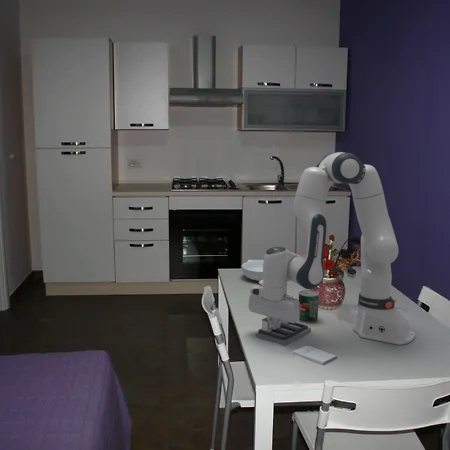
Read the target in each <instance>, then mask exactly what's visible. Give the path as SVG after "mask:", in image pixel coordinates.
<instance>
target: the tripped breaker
mask: <svg viewBox="0 0 450 450" xmlns="http://www.w3.org/2000/svg"><path fill="white" fill-rule="evenodd" d="M269 325H270V324H269V322H268V320H267V316H265V317H263V318H262V319H261V329H262V330H263V331H266V332H271V331H272V329H271V328H269Z"/></svg>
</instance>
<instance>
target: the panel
mask: <svg viewBox="0 0 450 450" xmlns="http://www.w3.org/2000/svg"><path fill="white" fill-rule="evenodd" d="M311 332H312V328H311V327H309V326H308V325H307V324H302V323H299V322H295V323H290V322H288V324H283V323H281V327H280V328H276V329H275V330H274V329H272V331H271V332H266V331H263V330H262V328H260V329H258V331H256V332H254V337H255V338H258V339H261V340H264V341H268V342H271V343H274V344H277V345H281V346H284V347H285V346H288V345H289V344H291V343H293V342H295V341H298V339H300V338H303V337H304V336H306V335H308V334H309V333H311Z"/></svg>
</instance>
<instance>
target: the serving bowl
mask: <svg viewBox="0 0 450 450" xmlns="http://www.w3.org/2000/svg"><path fill="white" fill-rule="evenodd" d="M263 262H264V260H251V261H246V262H244V263H242V265H241V271H242V273H243V275H244V276H245V277H246V278H247V279H250V280H252V281H257V282H259V281H260V280H263V279H264V275H263Z"/></svg>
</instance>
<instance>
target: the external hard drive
mask: <svg viewBox="0 0 450 450" xmlns="http://www.w3.org/2000/svg"><path fill="white" fill-rule="evenodd" d="M292 354H293V355H295V356H297V357H301V358H303V359H306V360H309V361H311V362H314V363H316V364H318V365H322V366H324V365H326V364H329V363H330V362H333V361H335V360H336V359H337V360H338V355H336V354H332V353H330V352H328V351H324V350H321V349H318V348H316V347H313V346H310V345H308V344H307V345H305V346H302V347H300V348H297V349H295V350H293V352H292Z"/></svg>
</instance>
